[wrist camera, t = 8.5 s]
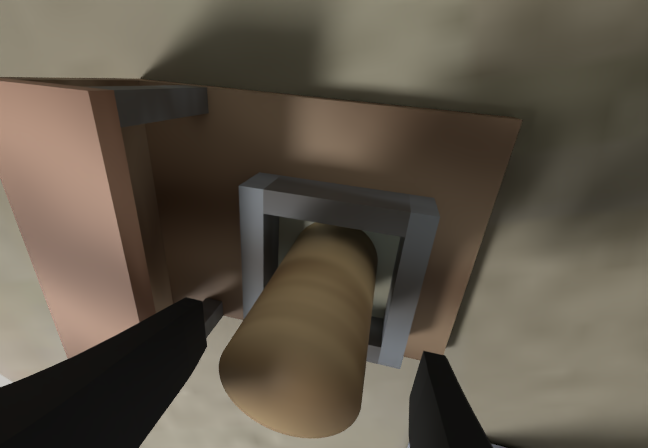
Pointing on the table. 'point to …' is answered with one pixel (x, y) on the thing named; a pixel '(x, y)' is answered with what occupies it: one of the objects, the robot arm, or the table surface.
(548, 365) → the table surface
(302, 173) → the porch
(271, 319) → the peg
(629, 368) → the table surface
